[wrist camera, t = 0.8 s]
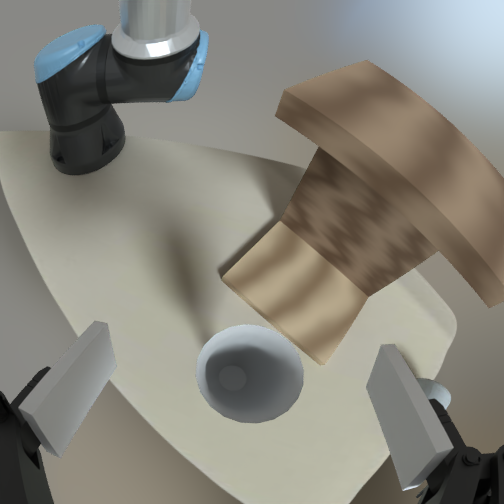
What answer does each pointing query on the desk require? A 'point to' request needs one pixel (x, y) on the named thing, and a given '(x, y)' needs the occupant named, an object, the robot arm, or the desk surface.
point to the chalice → (249, 373)
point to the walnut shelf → (370, 208)
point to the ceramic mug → (435, 391)
